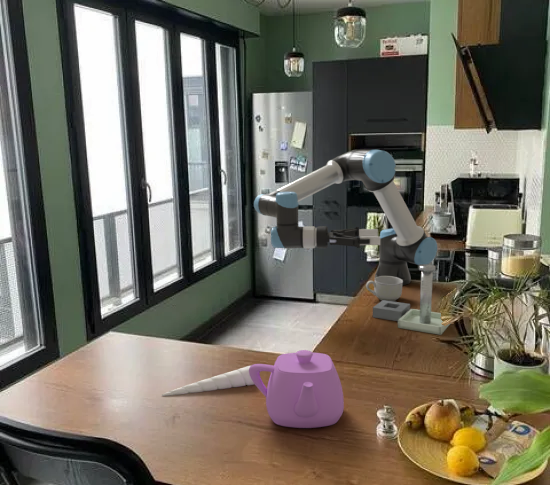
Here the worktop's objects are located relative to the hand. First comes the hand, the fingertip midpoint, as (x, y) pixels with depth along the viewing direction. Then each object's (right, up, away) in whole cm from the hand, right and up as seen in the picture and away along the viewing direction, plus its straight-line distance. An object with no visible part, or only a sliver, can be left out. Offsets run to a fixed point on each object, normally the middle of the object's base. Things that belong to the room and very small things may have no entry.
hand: (379, 236), depth 183 cm
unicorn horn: (-51, -39, -47) cm, 80 cm away
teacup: (+7, -24, +26) cm, 36 cm away
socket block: (+6, -27, +7) cm, 29 cm away
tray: (+15, -29, -3) cm, 33 cm away
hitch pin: (+15, -29, -3) cm, 32 cm away
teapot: (-28, -41, -61) cm, 79 cm away
